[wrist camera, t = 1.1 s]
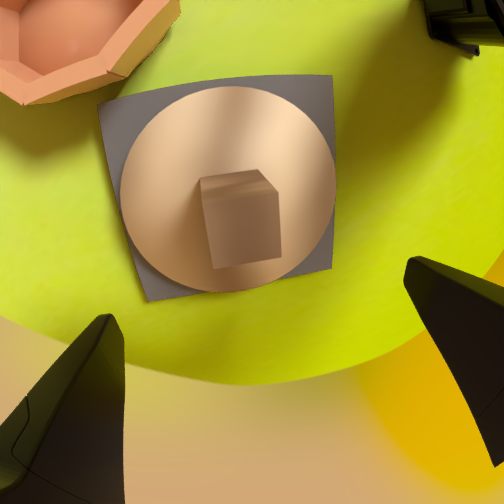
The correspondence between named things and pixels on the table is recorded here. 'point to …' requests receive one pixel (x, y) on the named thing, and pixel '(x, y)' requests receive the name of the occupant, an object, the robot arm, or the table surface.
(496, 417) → the robot arm
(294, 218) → the lid
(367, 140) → the table surface
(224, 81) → the mat
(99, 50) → the ring
